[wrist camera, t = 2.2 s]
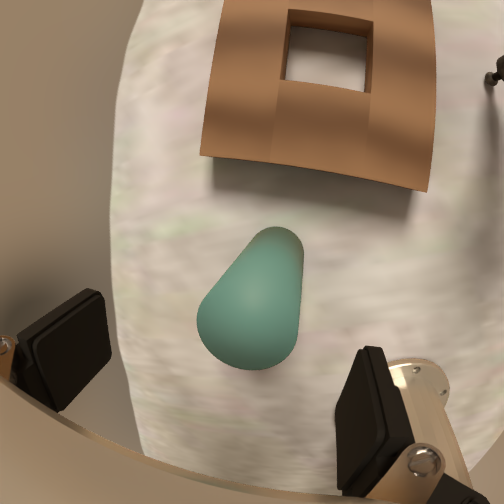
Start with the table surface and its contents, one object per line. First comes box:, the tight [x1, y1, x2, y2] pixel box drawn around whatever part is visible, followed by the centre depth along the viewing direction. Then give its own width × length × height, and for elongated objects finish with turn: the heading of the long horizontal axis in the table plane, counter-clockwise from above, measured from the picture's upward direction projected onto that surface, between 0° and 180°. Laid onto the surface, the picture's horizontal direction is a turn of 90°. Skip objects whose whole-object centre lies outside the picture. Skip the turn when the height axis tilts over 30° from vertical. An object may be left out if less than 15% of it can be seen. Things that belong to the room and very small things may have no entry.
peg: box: [197, 227, 304, 370], centre depth 18 cm, size 4×4×12 cm
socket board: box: [200, 0, 436, 193], centre depth 17 cm, size 18×16×3 cm
